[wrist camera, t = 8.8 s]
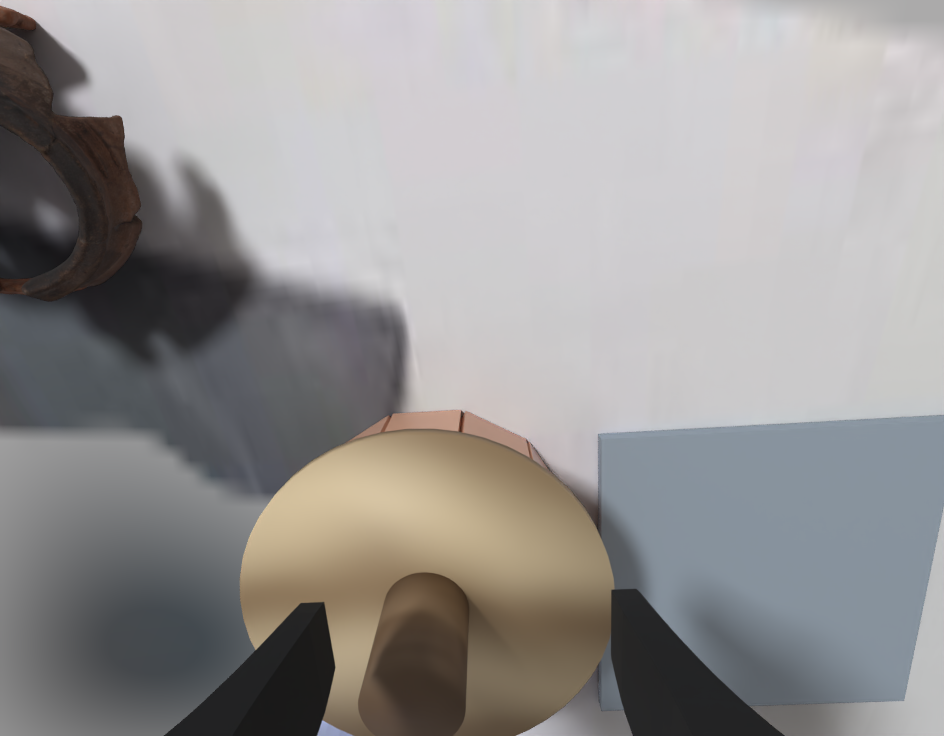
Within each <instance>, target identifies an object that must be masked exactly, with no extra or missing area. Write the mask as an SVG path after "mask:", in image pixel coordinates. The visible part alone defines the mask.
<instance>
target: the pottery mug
mask: <svg viewBox="0 0 944 736" xmlns="http://www.w3.org/2000/svg"><path fill="white" fill-rule="evenodd" d="M1 27H10V28H19V29H25V30H34V29H35V28H36V23H35V21H34V20H33V19H32V18H31V17H28V16H26V15H23V14H21V13H19V12H16V11H15V10H12V9H9V8H6V7H2V6H0V125H1V126H3V127H4V128H6V129H7V130H9V131H10V132H12V133H14V134H16V135H17V136H19V137H20V138H21V139H22V140H24V141H25V142H27V143H28V144H30V145H31V146H33V147H34V148H35V149H37V150H38V151H39V152H40V154H41V155H42V156H43V157H44V158H45V160H47V161H48V162H49V164H50V165H51V166H52V167H53V168H54V170H55V171H56V173H57V174H58V175H59V177H60V178H61V180H62V181H63V182H64V184H65V185H66V187H67V188H68V190H69V192H70V194H71V196H72V198H73V200H74V202H75V204H76V206H77V211H78V216H79V237H78V239H77V242H76V245H75V248H74V250H73V252H72V254H71V255H70V257H69V258H68V259H67V260H66V261H65V262H64V263H62V264H60V265H59V266H58V267H56V268H55V269H53V270H51V271H49V272H47V273H44V274H41V275H38V276H36V277H34V278H26V279H3V278H0V293H3V294H24V295H27V296H30V297H33V298H37V299H40V300H44V301H55V300H58V299H60V298H63V297H64V296H66V295H68V294H70V293H72V292H73V291H77V290H82V289H84V288H86V287H87V286H97V285H100V284H102V283H104V282H106V281H107V280H108V279H109V278H110V277H111V276H113V275H114V274H115V273H116V272H117V271H118V270H119V269H120V268H121V267H122V266H123V264H124V263H125V262H126V261H127V259H128V258H129V256H130V255H131V253H132V251H133V250H134V247H135V245H136V242H137V240H138V237H139V234H140V233H141V229H142V222H141V220H140V219H139V218H138V217H137V216H135V214H136V213H137V212H138V210H139V209H140V207H141V201H140V197H139V194H138V190H137V187H136V185H135V183H134V181H133V179H132V175H131V173H130V171H129V168H128V164H127V160H126V155H125V148H124V138H125V135H124V127H123V121H122V118H121V117H120V116H118V115H115V116H112V117H109V118H108V117H69V116H62V115H57V114H55V113H54V112H53V111H52V100H53V91H52V88H51V86H50V84H49V81H48V78H47V77H46V75H45V74H44V72H43V71H42V69H41V68H40V67H39V65H38V64H37V62H36V60H35V55H34V50H33V48H32V46H31V45H30V44H29V43H28V42H27V41H26V40H24V39H22V38H20V37H19V36H17V35H15V34H13V33H12V32H10V31H8V30H6V29H4V28H1Z"/></svg>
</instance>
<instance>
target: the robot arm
mask: <svg viewBox="0 0 944 736" xmlns="http://www.w3.org/2000/svg"><path fill="white" fill-rule="evenodd" d="M611 660H612V664H613V668H614V673H615V677H616V681H617V686H618V690H619V694H620V698H621V702H622V705H623V708H624V711H625V714H626V717H627V720H628V723H629V726H630V728H631V731H632V734H633V736H784V735H783V734H782V733H780V732H779V731H778V730H777V729H775V728H774V727H773V726H772V725H770V724H769V723H768V722H767V721H766V720H765V719H763V718H762V717H761V716H760V715H759V714H757V713H756V712H755V711H754V710H753V709H752V708H750V707H749V706H748V705H747V704H746V703H745V702H744V701H743V700H741V699H740V698H739V697H738V696H737V695H736V694H735V693H734V692H733V691H732V690H731V689H730V688H729V687H727V686H726V685H725V684H724V683H723V682H722V681H721V680H720V679H719V678H718V677H717V676H716V675H715V674H714V673H713V672H712V671H711V670H710V669H709V668H708V667H707V666H706V665H705V664H704V663H703V662H702V661H701V660H700V659H699V658H698V657H697V656H696V655H695V654H694V653H693V652H692V650H691V649H690V648H689V647H688V646H687V645H686V644H685V643H684V642H683V641H682V640H681V639H680V638H679V637H678V636H677V634H676V633H675V632H674V631H673V630H672V629H671V628H670V627H669V625H668V624H667V623H666V622H665V621H664V620H663V619H662V617H661V616H660V615H659V614H658V613H657V612H656V610H655V609H654V608H653V607H652V606H651V605H650V603H649V602H648V601H647V600H646V598H645V597H644V596H643V595H642V594H641V592H639V591H638V590H637V589H615V590H611ZM335 668H336V667H335V661H334V655H333V649H332V644H331V638H330V632H329V626H328V621H327V615H326V609H325V603H324V602H310V603H300V604H299V605H298V606H297V607H296V608H295V609H294V610H293V611H292V612H291V613H290V614H289V616H288V617H287V618H286V619H285V620H284V621H283V622H282V623H281V624H280V625H279V626H278V627H277V628H276V629H275V630H274V631H273V633H272V634H271V635H270V636H269V637H268V638H267V639H266V640H265V641H264V642H263V643H262V644H261V645H260V646H259V647H258V648H257V649H256V650H255V651H254V653H253V654H252V655H251V656H250V657H249V658H248V659H247V660H246V661H245V662H244V663H243V664H242V665H241V666H240V667H239V668H238V669H237V670H236V671H235V672H234V673H233V674H232V675H231V676H230V677H229V678H228V679H227V680H226V681H225V682H224V683H222V684H221V685H220V686H219V688H217V689H216V690H215V691H214V692H213V693H212V694H211V695H210V696H209V697H208V698H207V699H206V700H205V701H204V702H203V703H201V704H200V705H199V706H198V707H197V708H196V709H195V710H194V711H193V712H191V713H190V714H189V715H188V716H187V717H186V718H185V719H183V720H182V721H181V722H180V723H179V724H177V725H176V726H175V727H174V728H173V729H171V730H170V731H169V732H168V733H167V734H166V735H164V736H353V735H351V734H349V733H346V732H344V731H342V730H339V729H337V728H335V727H334V726H332V725H330V724H328V723H326V722H325V721H323V717H324V714H325V711H326V707H327V703H328V699H329V695H330V690H331V686H332V681H333V677H334V672H335Z"/></svg>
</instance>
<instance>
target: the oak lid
mask: <svg viewBox="0 0 944 736" xmlns="http://www.w3.org/2000/svg"><path fill="white" fill-rule="evenodd" d="M611 590H615V588H614V577H613V573H612V569H611V565H610V561H609V557H608V554H607V552H606V549H605V547H604V544H603V542H602V540H601V537H600V535H599V532H598V530H597V528H596V526H595V524H594V522H593V521H592V519H591V517H590V516H589V514H588V512H587V511H586V509H585V507H584V506H583V505H582V504H581V502H580V501H579V500H578V499H577V498H576V496H575V495H574V494H573V493H572V492H571V490H570V489H569V488H568V487H567V486H566V485H565V484H563V483H562V482H561V481H560V480H559V479H558V478H557V477H556V476H555V475H554V474H553V473H551V472H550V471H549V470H547V469H546V468H544V467H543V466H541V465H540V464H539V463H537V462H536V461H534V460H533V459H531V458H530V457H528V456H526V455H524V454H522V453H520V452H518V451H516V450H514V449H512V448H510V447H508V446H506V445H503V444H500V443H498V442H495V441H492V440H490V439H487V438H484V437H480V436H476V435H472V434H467V433H463V432H459V431H450V430H441V429H402V430H394V431H386V432H380V433H376V434H372V435H369V436H365V437H361V438H357V439H355V440H352V441H350V442H347V443H345V444H342V445H340V446H337V447H335V448H333V449H331V450H329V451H328V452H326V453H324V454H322V455H321V456H319V457H317V458H315V459H314V460H312V461H311V462H310V463H308V464H307V465H306V466H304V467H303V468H302V469H301V470H299V471H298V472H297V473H295V474H294V475H293V476H292V477H291V478H290V479H289V480H288V481H287V482H286V483H285V485H284V486H283V487H282V488H281V489H280V490H279V491H278V492H277V493H276V495H275V496H274V497H273V498H272V500H271V501H270V503H269V504H268V505H267V507H266V508H265V510H264V511H263V512H262V514H261V515H260V517H259V518H258V520H257V522H256V524H255V526H254V529H253V531H252V533H251V534H250V536H249V540H248V543H247V546H246V549H245V552H244V555H243V560H242V567H241V575H240V600H241V606H242V612H243V618H244V622H245V625H246V628H247V631H248V634H249V637H250V640H251V642H252V644H253V646H254V648H255V650H256V649H257V648H258V647H259V646H260V645H261V644H262V643H263V642H264V641H265V640H266V639H267V638H268V637H269V636H270V635H271V634H272V633H273V631H274V630H275V629H276V628H277V627H278V626H279V625H280V624H281V623H282V622H283V621H284V620H285V619H286V618H287V617H288V616H289V614H290V613H291V612H292V611H293V610H294V609H295V608H296V607H297V606H298V605H299V604H300V603H310V602H324V603H325V609H326V615H327V621H328V626H329V632H330V638H331V644H332V649H333V655H334V661H335V667H336V668H335V672H334V677H333V681H332V686H331V690H330V695H329V699H328V703H327V707H326V711H325V714H324V717H323V721H325V722H326V723H328V724H330V725H332V726H334V727H335V728H337V729H339V730H342V731H344V732H346V733H349V734H351V735H353V736H516V735H518V734H520V733H523V732H525V731H527V730H529V729H531V728H533V727H535V726H536V725H538V724H540V723H542V722H543V721H545V720H547V719H548V718H550V717H551V716H552V715H554V714H555V713H556V712H558V711H559V710H560V709H562V708H563V707H564V706H565V705H566V704H567V703H568V702H569V701H570V700H571V699H572V698H573V697H574V696H575V695H576V694H578V693H579V691H580V690H581V689H582V688H583V686H584V685H585V684H586V682H587V681H588V680H589V679H590V677H591V676H592V674H593V673H594V671H595V669H596V668H597V666H598V664H599V662H600V661H601V659H602V657H603V654H604V652H605V649H606V647H607V644H608V642H609V639H610V634H611Z"/></svg>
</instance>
